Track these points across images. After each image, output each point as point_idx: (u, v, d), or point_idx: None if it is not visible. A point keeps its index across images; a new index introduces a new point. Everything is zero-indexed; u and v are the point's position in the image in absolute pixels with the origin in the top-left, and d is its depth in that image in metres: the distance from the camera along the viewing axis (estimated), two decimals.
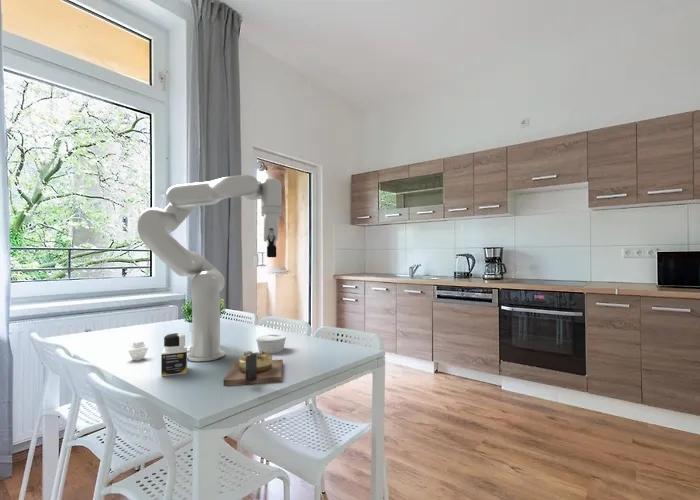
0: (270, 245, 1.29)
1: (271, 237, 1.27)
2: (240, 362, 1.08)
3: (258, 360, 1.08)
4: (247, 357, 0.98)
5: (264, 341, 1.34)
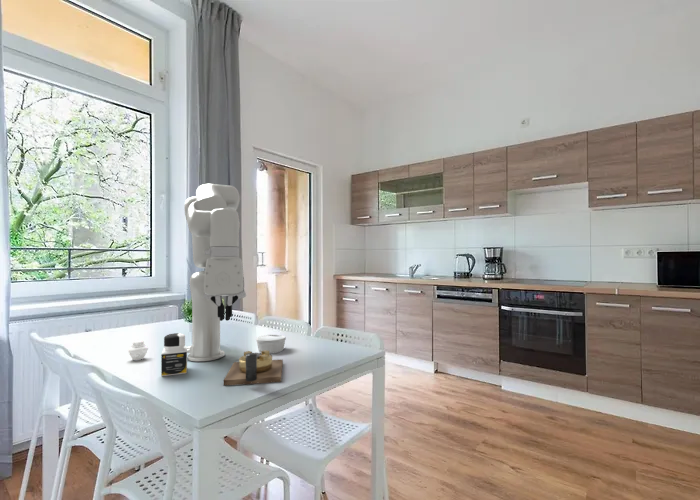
0: None
1: None
2: (240, 362, 1.08)
3: (258, 360, 1.08)
4: (247, 357, 0.98)
5: (264, 341, 1.34)
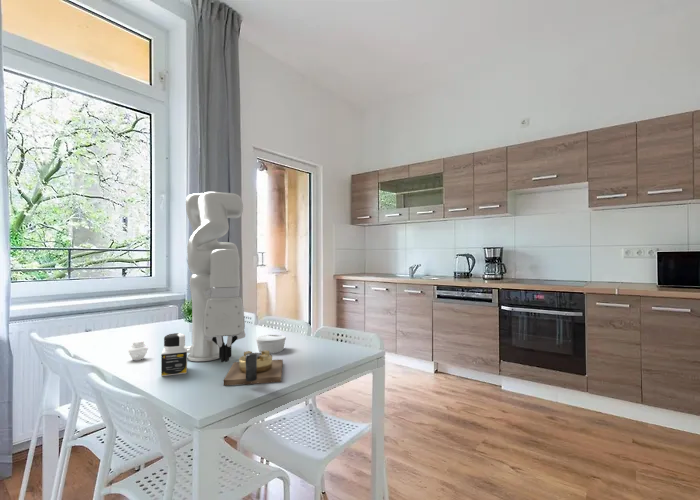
0: None
1: (240, 338, 0.99)
2: (240, 362, 1.08)
3: (258, 360, 1.08)
4: (247, 357, 0.98)
5: (264, 341, 1.34)
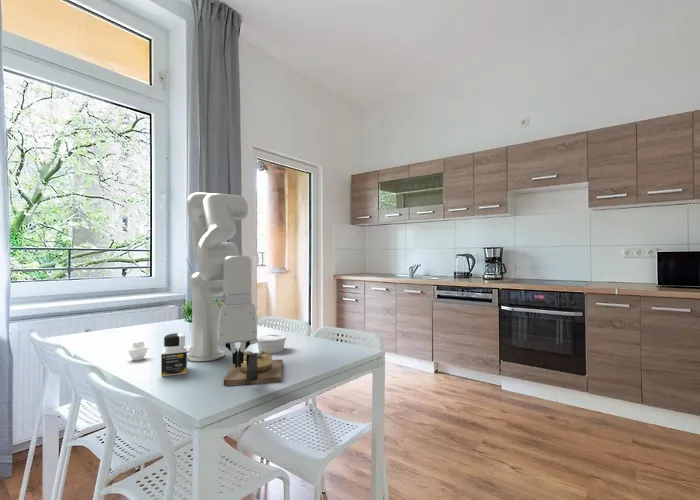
0: None
1: None
2: None
3: (258, 360, 1.08)
4: (248, 357, 0.98)
5: (264, 341, 1.34)
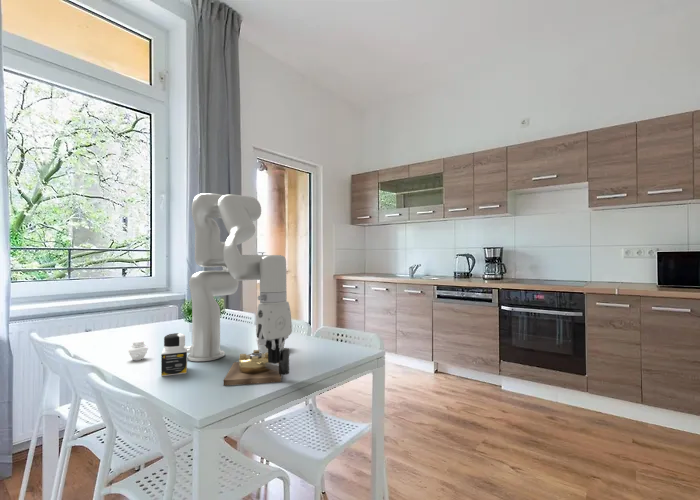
0: None
1: None
2: (250, 364, 1.06)
3: (266, 358, 1.10)
4: (284, 352, 1.03)
5: None
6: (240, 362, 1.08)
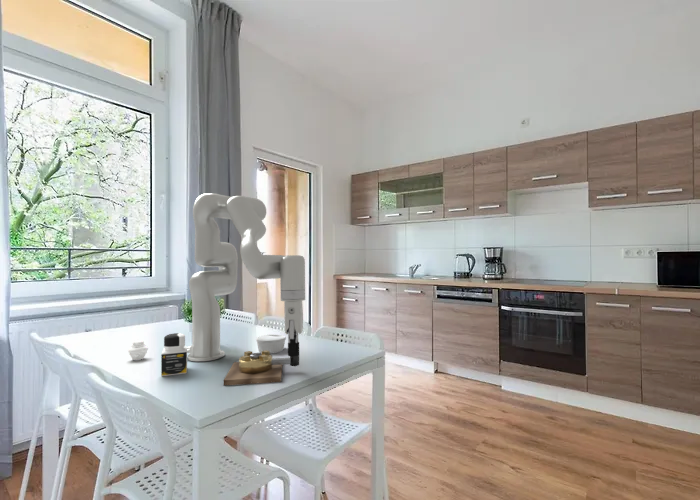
0: None
1: None
2: (262, 362, 1.07)
3: None
4: None
5: (264, 341, 1.34)
6: (248, 364, 1.06)
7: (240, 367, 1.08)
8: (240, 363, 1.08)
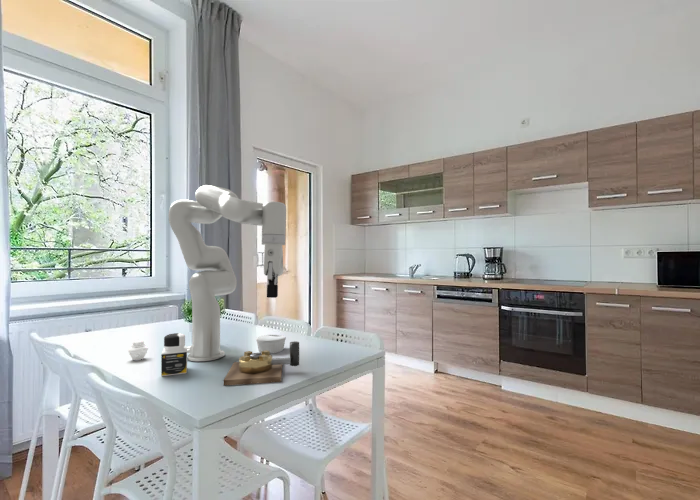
0: None
1: None
2: (262, 362, 1.07)
3: None
4: (298, 344, 1.12)
5: (264, 341, 1.34)
6: (248, 364, 1.06)
7: (240, 367, 1.08)
8: (240, 363, 1.08)
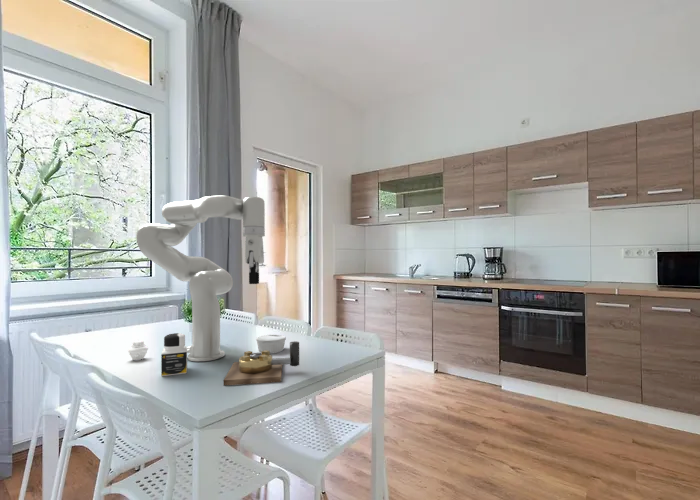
0: None
1: None
2: (262, 362, 1.07)
3: None
4: (298, 344, 1.12)
5: (264, 341, 1.34)
6: (248, 364, 1.06)
7: (240, 367, 1.08)
8: (240, 363, 1.08)
